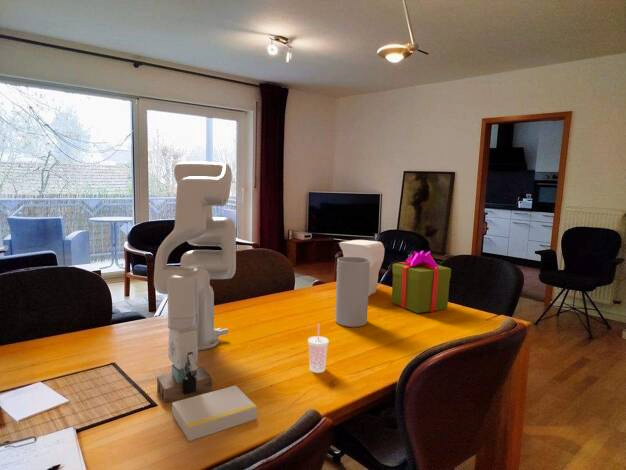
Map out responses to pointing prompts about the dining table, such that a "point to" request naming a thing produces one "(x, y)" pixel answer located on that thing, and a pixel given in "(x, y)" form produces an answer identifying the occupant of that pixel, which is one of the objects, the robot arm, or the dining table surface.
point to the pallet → (175, 390)
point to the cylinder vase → (352, 291)
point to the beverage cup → (317, 352)
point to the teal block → (179, 373)
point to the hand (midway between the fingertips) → (184, 385)
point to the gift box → (420, 284)
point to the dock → (213, 412)
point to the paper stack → (368, 251)
